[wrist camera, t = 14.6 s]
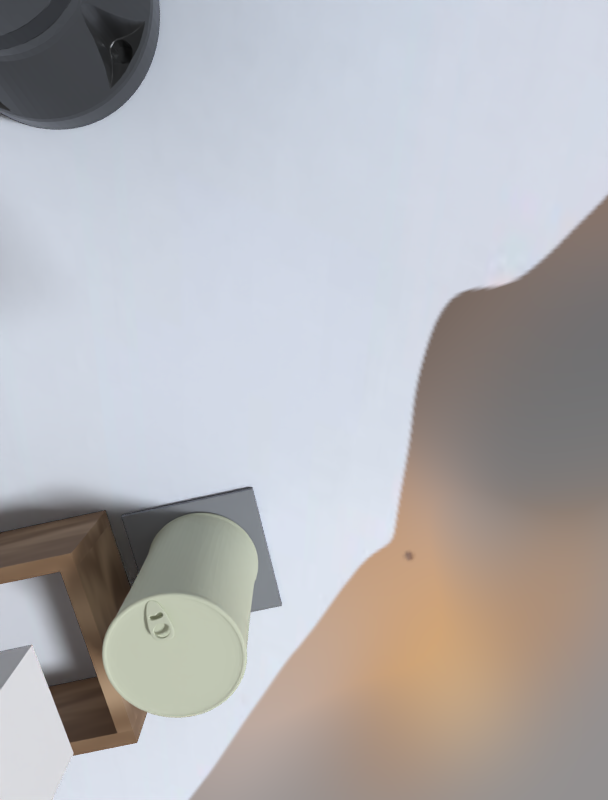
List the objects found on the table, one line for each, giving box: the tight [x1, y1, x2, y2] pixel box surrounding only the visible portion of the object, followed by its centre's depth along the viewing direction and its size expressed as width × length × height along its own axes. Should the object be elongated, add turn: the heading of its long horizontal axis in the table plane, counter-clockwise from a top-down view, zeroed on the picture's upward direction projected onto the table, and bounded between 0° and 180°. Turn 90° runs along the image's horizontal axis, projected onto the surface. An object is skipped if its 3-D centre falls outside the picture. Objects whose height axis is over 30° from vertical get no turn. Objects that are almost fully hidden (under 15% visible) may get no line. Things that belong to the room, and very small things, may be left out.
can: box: [102, 513, 258, 718], centre depth 39 cm, size 9×9×12 cm
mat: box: [122, 488, 282, 612], centre depth 45 cm, size 11×11×1 cm
